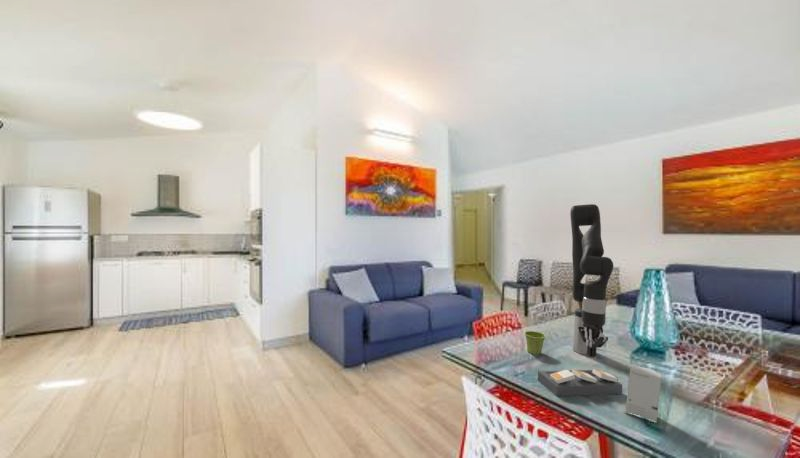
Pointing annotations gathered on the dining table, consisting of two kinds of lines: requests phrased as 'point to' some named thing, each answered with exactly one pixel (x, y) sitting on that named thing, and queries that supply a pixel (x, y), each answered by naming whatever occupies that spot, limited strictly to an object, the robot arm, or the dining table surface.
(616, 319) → the dining table surface
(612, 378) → the rocker
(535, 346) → the plant pot
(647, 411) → the skincare box
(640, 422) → the dining table surface
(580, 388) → the power strip
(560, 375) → the rocker
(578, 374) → the rocker
